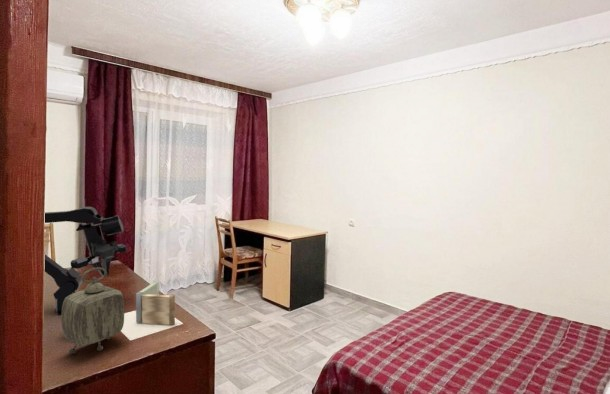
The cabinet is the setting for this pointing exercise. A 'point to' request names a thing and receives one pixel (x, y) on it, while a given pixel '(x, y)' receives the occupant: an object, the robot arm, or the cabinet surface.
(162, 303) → the brown flat square block
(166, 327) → the card
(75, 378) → the cabinet surface
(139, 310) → the folding fence panel
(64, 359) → the cabinet surface
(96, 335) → the tabletop clock
